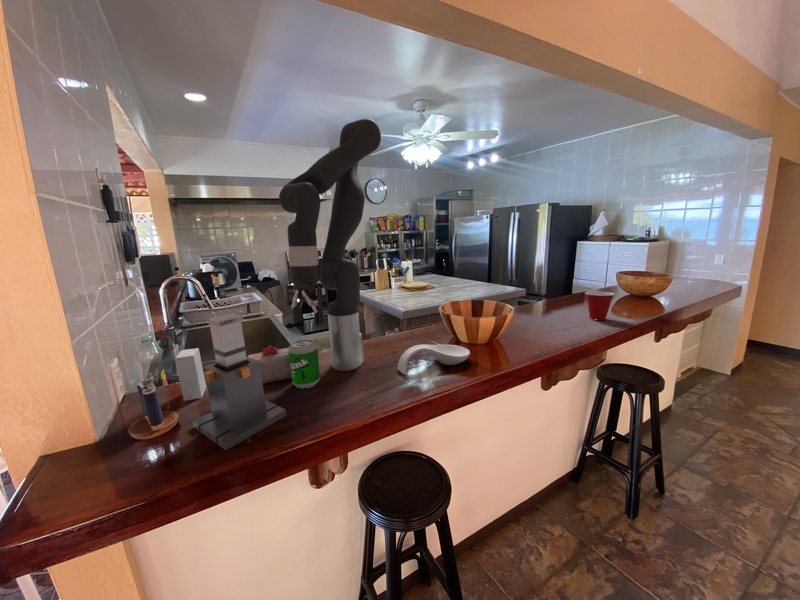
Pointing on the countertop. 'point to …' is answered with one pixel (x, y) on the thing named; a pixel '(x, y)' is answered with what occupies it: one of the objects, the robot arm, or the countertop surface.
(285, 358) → the food item
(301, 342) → the soda can
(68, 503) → the countertop surface
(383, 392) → the countertop surface
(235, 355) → the column
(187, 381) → the skincare box
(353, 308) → the robot arm
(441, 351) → the spoon rest
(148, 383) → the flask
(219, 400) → the stand
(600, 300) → the plastic cup
